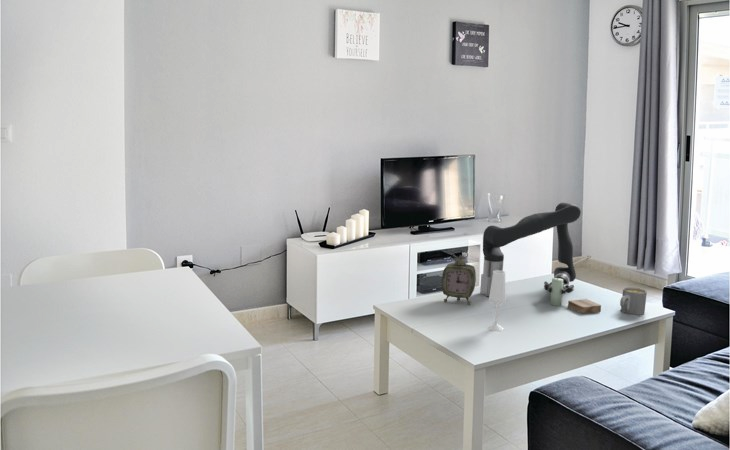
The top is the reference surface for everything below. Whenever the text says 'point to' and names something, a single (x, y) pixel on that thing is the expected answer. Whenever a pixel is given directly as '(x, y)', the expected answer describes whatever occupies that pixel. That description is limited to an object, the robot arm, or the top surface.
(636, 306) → the coffee mug
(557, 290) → the candle
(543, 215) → the robot arm
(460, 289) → the tabletop clock
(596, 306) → the walnut block
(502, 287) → the champagne flute
